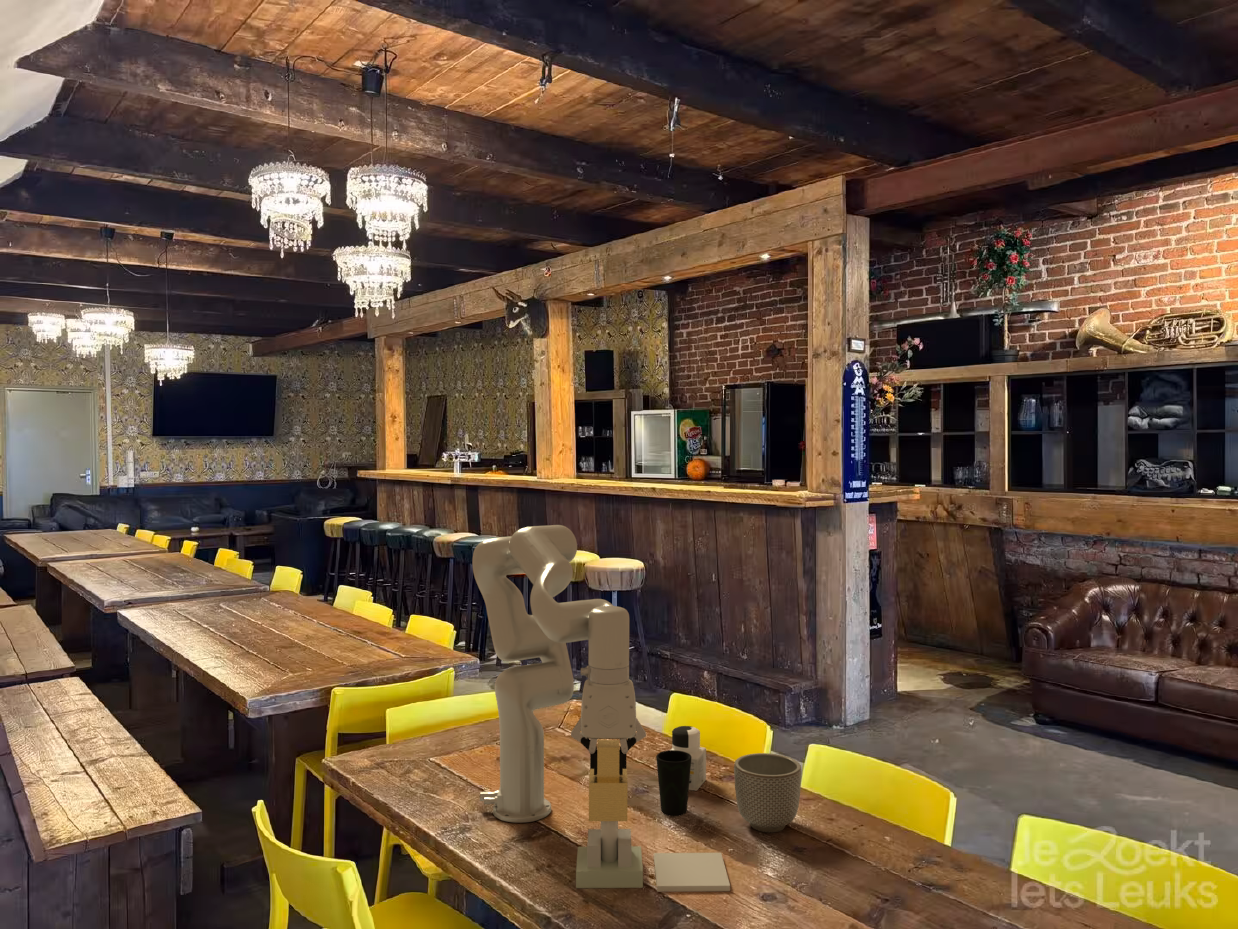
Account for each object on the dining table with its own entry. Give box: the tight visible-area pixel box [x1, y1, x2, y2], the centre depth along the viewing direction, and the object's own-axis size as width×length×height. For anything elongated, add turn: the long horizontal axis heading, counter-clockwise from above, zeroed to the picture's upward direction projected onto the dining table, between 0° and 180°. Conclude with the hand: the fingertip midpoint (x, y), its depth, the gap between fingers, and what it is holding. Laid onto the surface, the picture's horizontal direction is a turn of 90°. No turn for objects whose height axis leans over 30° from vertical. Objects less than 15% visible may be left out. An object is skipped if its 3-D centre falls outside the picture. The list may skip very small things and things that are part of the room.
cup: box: [655, 749, 692, 817], centre depth 195 cm, size 8×8×12 cm
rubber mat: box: [653, 852, 731, 893], centre depth 166 cm, size 13×13×1 cm
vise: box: [575, 821, 644, 889], centre depth 166 cm, size 12×10×15 cm
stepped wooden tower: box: [588, 739, 629, 822], centre depth 166 cm, size 7×7×13 cm
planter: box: [733, 752, 802, 833], centre depth 187 cm, size 14×14×13 cm
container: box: [670, 725, 707, 792], centre depth 211 cm, size 8×8×13 cm
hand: (608, 771), depth 166 cm, fingers closed on stepped wooden tower, 4 cm apart
